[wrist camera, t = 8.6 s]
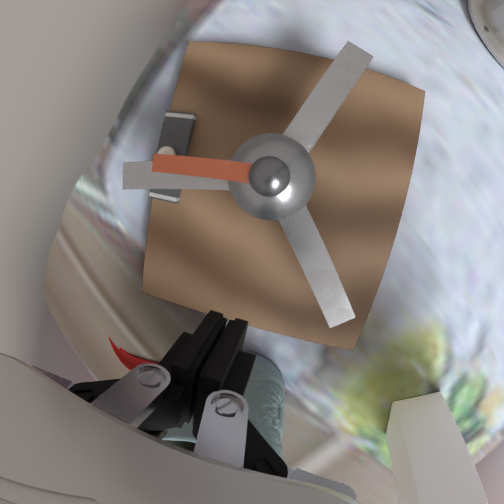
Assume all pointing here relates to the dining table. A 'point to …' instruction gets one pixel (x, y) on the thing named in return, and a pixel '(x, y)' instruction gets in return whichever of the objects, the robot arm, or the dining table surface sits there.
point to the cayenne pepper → (129, 358)
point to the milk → (430, 454)
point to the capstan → (275, 178)
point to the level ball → (166, 150)
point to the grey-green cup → (251, 407)
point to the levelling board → (319, 205)
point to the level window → (175, 146)
